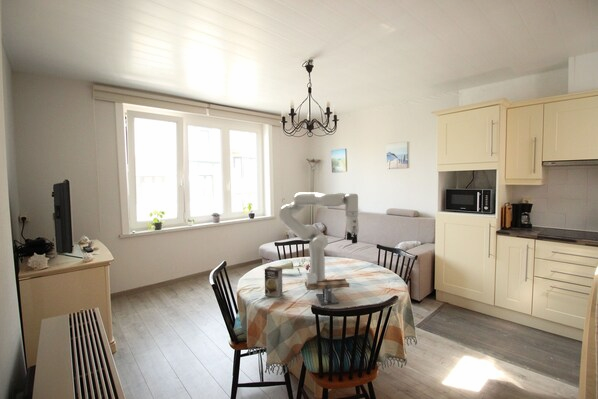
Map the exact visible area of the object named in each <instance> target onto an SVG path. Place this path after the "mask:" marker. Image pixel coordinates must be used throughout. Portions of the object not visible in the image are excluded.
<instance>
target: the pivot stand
mask: <svg viewBox="0 0 598 399" xmlns="http://www.w3.org/2000/svg"><path fill="white" fill-rule="evenodd" d="M323 280H328V279H327V278H326V279H323ZM315 296H316V298H317V301H318V302H319V304H320V306H329V305H330V306H331V305H339V304H340V303H339V301H338V299H337V297H336V296H335V295H334V293H333V292H332V288H331V285H329V286H327V289H322V293H316V294H315Z"/></svg>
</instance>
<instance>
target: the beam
mask: <svg viewBox="0 0 598 399" xmlns="http://www.w3.org/2000/svg"><path fill="white" fill-rule="evenodd" d="M304 285H305V288H306V290H307V291H315V290H323V289H327V286H329V285H331V289H340V288H341V289H343V288H350V282H348V281H347V280H346V278H336V279H327V280H321V281H317V285H314V286H308V285H307V284H306V281H304Z"/></svg>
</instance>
